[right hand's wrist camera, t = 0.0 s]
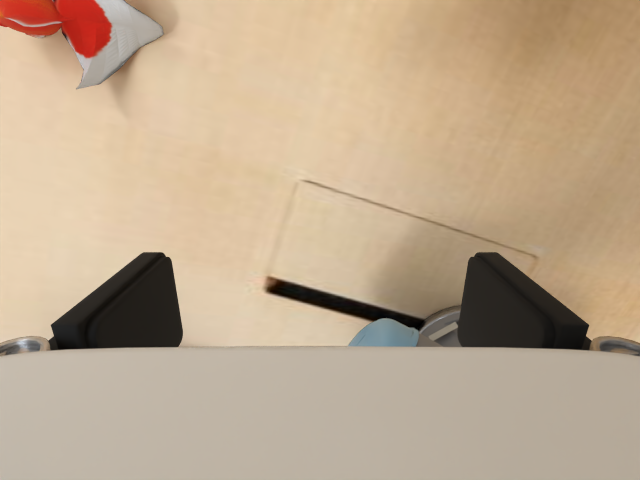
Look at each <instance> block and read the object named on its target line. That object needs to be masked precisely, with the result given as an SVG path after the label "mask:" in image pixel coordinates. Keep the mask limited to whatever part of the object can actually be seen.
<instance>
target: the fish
mask: <svg viewBox="0 0 640 480" xmlns="http://www.w3.org/2000/svg"><path fill="white" fill-rule="evenodd" d="M0 26H4V27H10V28H12V29H14V30H17V31H20V32H23V33H25V34H27V35H30V36H33V37H36V38H43V37H45V36H46V35H52V34H54V33H56V32H57V31H58V30H59V29H60V28H62V34H63V35H64V36H65V38H66V39H67V41H68V42H69V44H70V45H71V47H72V48H73V50H74V51H75V53H76V56H77V58H78V60H79V62H80V64H81V66H82V68H83V69H84V72H83V76H82V80H81V83H80V85H79V86H78V87H77V88H76V89H79V88H84V87H89V86H94V85H98V84H101V83H102V82H103V81H105V80H106V79H107V78H108V77H110V76H111V75H112V74H114V73H115V72H116V71H117V70H119V69H120V68H121V67H122V66H123V64H124V63H125V62H126V61H127V60H128V59H129V58H130V57H131V56H132V55H133V54H134V53H135V52H136V51H137V50H138V49H139V48H140V47H142V46H144V45H146V44H148V43H150V42H152V41H154V40H156V39H157V38H159V37H161V36H162V35H163V34H164V32H163V28H162V26H161V25H159V24H158V23H157V22H155V21H154V20H152V19H151V18H149V17H148V16H146V15H145V14H143V13H142V12H140V11H139V10H137V9H135V8H134V7H132V6H131V5H129V4H127V3H126V2H125V1H124V0H0Z"/></svg>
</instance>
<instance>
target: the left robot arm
mask: <svg viewBox="0 0 640 480" xmlns="http://www.w3.org/2000/svg"><path fill="white" fill-rule="evenodd" d="M460 311H461V306H455V307H450V308H447V309H444V310H441V311H439V312H437V313H435V314H433V315H431V316H430V317H428V318H427V319H425V320H424V321H423V322H422V323H421V324H420V325H419V326H418V327H417V328H416V329H415V328H409V327H407V326H405V325H403V324H401V323H399V322H397V321H395V320H392V319H385V318H384V319H379V320H377V321H375V322H372V323H370V324H368V325H367V326H366V327H364V328H363V329H362V330H361V331H360V332H359V333H358V334H357V335H356V336H355V337H354V339H353V340H352V341H351V342H350V344H349V345H348V346H377V347H462V346H461V345H460V343H459V340H458V336H457V329H458V323H459V317H460Z"/></svg>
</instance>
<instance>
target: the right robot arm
mask: <svg viewBox="0 0 640 480" xmlns="http://www.w3.org/2000/svg"><path fill="white" fill-rule="evenodd" d="M51 327H52V330H53V334H54V337H52V338H51V339H50V340H49V341H48V340H47V339H45V338H43V337H38V336H28V337H20V338H16V339H12V340H8V341H5V342H2V343H0V480H640V343H638V342H635V341H632V340H628V339H624V338H620V337H612V336H602V337H597V338H595V339H593V340H592V341H591V340H590V339H589V338H588V337H586V334H587V330H588V327H589V325H588V324H587V323H586V322H585V321H583V320H582V319H581V318H580V317H578V316H577V315H576V314H575V313H573V312H572V311H571V310H569V309H568V308H567V307H566V306H564V305H563V304H562V303H561V302H559V301H558V300H557V299H555V298H554V297H553V296H552V295H550V294H549V293H548V292H547V291H545V290H544V289H543V288H542V287H540V286H539V285H538V284H536V283H535V282H534V281H533V280H531V279H530V278H529V277H528V276H526V275H525V274H524V273H523V272H521V271H520V270H519V269H517V268H516V267H515V266H514V265H512V264H511V263H510V262H509V261H507V260H506V259H505V258H503V257H502V256H501V255H500V254H498V253H496V252H479V253H476V254H475V256H474V257H471V258H470V259H469V261H468V267H467V273H466V279H465V286H464V292H463V298H462V304H461V311H460V317H459V323H458V329H457V336H458V340H459V343H460V345H461V346H462V347H377V346H248V347H178V346H179V345H180V343H181V340H182V336H183V329H182V323H181V317H180V311H179V304H178V298H177V292H176V286H175V279H174V273H173V267H172V261H171V259H170V258H169V257H166V256H165V254H164V253H161V252H144V253H142V254H140V255H139V256H138V257H137V258H135V259H134V260H133V261H131V262H130V263H129V264H128V265H126V266H125V267H124V268H123V269H121V270H120V271H119V272H117V273H116V274H115V275H114V276H112V277H111V278H110V279H109V280H107V281H106V282H105V283H104V284H102V285H101V286H100V287H98V288H97V289H96V290H95V291H93V292H92V293H91V294H90V295H88V296H87V297H86V298H85V299H83V300H82V301H81V302H79V303H78V304H77V305H76V306H74V307H73V308H72V309H71V310H69V311H68V312H67V313H65V314H64V315H63V316H62V317H60V318H59V319H58V320H57V321H55V322H54V323H53V324H52V325H51Z"/></svg>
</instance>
